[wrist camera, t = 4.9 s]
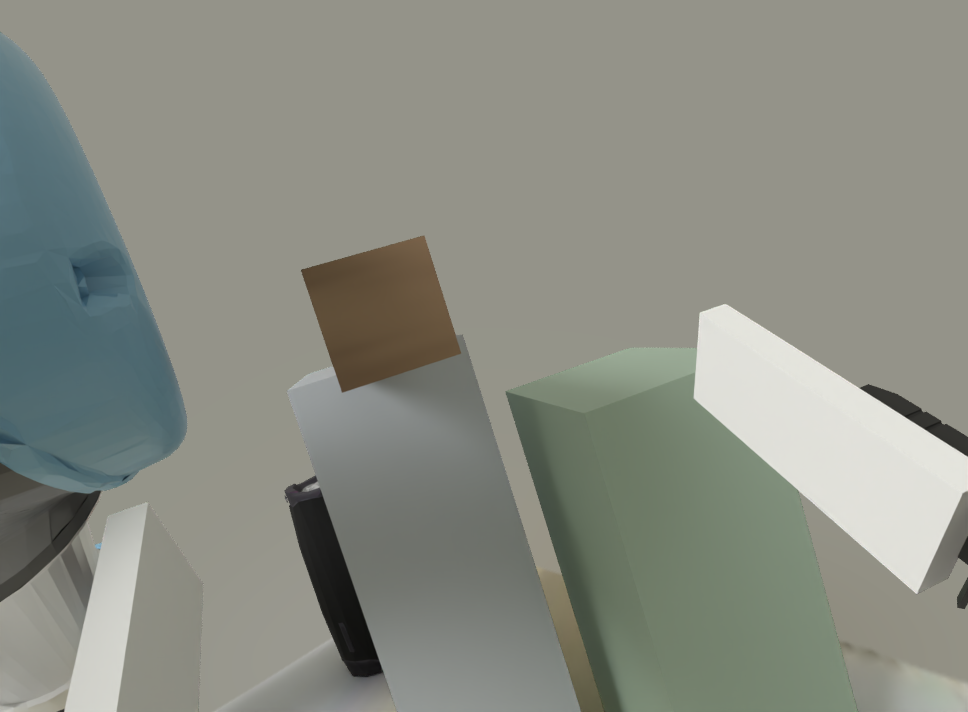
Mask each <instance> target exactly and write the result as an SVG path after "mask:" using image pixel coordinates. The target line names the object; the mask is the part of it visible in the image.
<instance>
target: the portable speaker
mask: <svg viewBox="0 0 968 712" xmlns="http://www.w3.org/2000/svg"><path fill="white" fill-rule="evenodd" d="M285 493H286V496H287V497H286V496H285V499H286V501H287V498H288V500H289V503H290V506H289V507H290V511H291V515H292V519H293V523H294V527H295V531H296V535H297V539H298V543H299V547H300V550H301V553H302V556H303V559H304V561H305V564H306V567H307V570H308V573H309V576H310V579H311V582H312V585H313V588H314V590H315V593H316V596H317V599H318V602H319V605H320V608H321V611H322V614H323V616H324V618H325V620H326V623H327V625H328V628H329V630H330V632H331V635H332V637H333V639H334V642H335V644H336V646H337V649H338V651H339V653H340V656H341V658H342V660H343V661H344V663H345V664H346V666H347V668H348V669H349V671H350V672H351V674H352V675H353V676H370V675H374V674H377V673H381V671H382V666H381V664H380V661H379V658H378V655H377V652H376V649H375V646H374V643H373V640H372V637H371V634H370V632H369V629H368V626H367V623H366V620H365V617H364V614H363V611H362V608H361V605H360V602H359V600H358V597H357V594H356V591H355V588H354V585H353V582H352V579H351V576H350V573H349V570H348V568H347V565H346V562H345V559H344V556H343V553H342V550H341V547H340V544H339V541H338V538H337V536H336V533H335V530H334V527H333V524H332V521H331V518H330V515H329V512H328V509H327V506H326V504H325V501H324V498H323V495H322V492H321V489H320V486H319V483H318V480H317V477H316V476H314V477H312V478H310V479H308V480H306V481H305V482H303V483H301V484H298V485H296V484H293V485H291V486H289V487H288V488H287V489H286V490H285ZM287 502H288V501H287Z"/></svg>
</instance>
